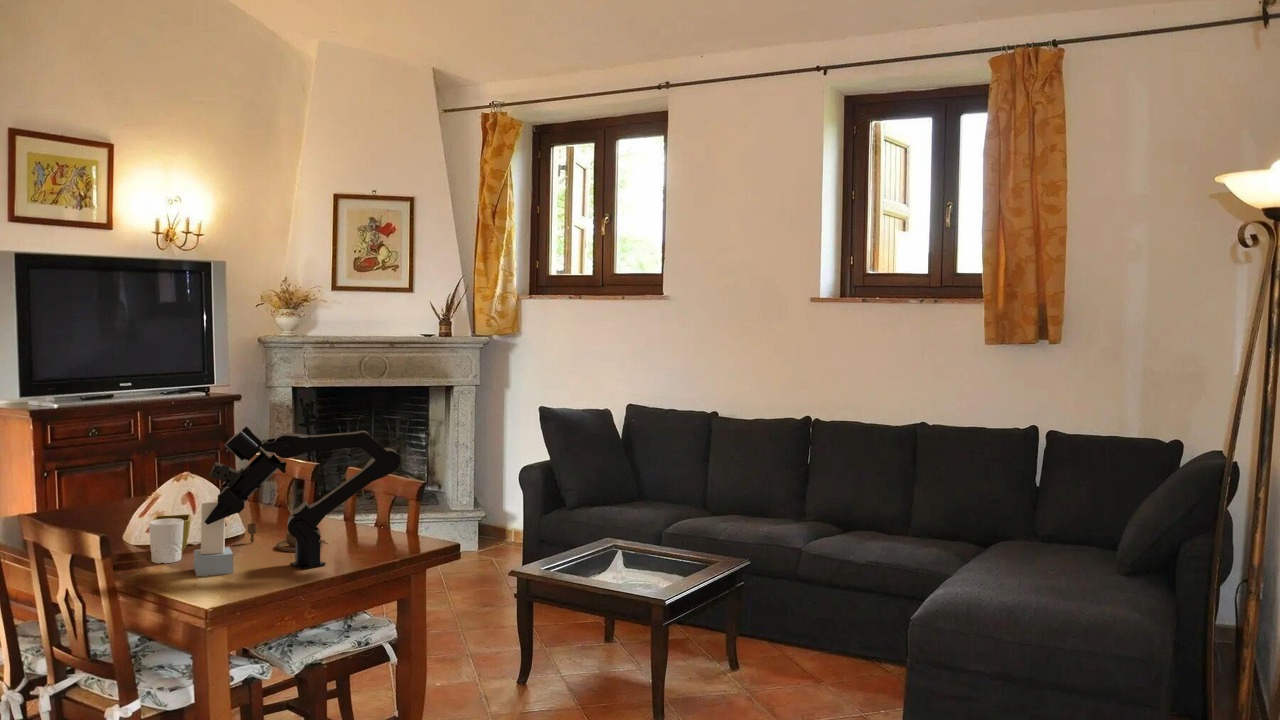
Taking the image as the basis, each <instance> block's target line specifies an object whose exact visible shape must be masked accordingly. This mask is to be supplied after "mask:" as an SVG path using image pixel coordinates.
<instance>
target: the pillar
mask: <svg viewBox="0 0 1280 720" xmlns="http://www.w3.org/2000/svg"><path fill="white" fill-rule="evenodd" d="M217 504H218V501H217V500H204V501H202V504H201V517H200V518H201V522H200V526H201V527H200V529H201V530H200V549H201V554H219V553H223V552H224V549H225V547H226V546H225V542H226V540H225V539H226V517H225V518H223V519H220V520H218V521H216V522H213V523H211V524H208V525H207V524H206V523H205V520H206V519H207V517H208V516H209V515H210V513H211V512H212V511H213V509H214V508H215V507H216V505H217Z"/></svg>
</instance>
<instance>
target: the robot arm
mask: <svg viewBox="0 0 1280 720" xmlns="http://www.w3.org/2000/svg"><path fill="white" fill-rule="evenodd" d="M224 447H225V448H227V449H228V450H229V451H230V452H231V453H232V454H234V455H235V457H237V458H238V459H239V460H240V461H242V462H243V461H244V460H245V461H248V462H249V461H251V460H252V459H253V460H252V461H251V462H249V464H247V466H246V467H241V468H240V469H239V470H237V469H234V468H232V467H230V466H229V465H225V464H224V463H220V462H218V461H215V463H214V465H213V467H212V469H211V471H210V473H209V477H210V478H212V479H217V480H220V481H222V482H223V483H222V484H221V486H220V488H219V494H218V495H217V500H216V501H218V504H217V505H216V507H215V508H214V509H213V511H212V512H211V513H210V515H209V516H208V517H207V519H206V520H205V523H206V524H207V525H208V524H211V523H213V522H216V521H218V520H220V519H223V518H225V519H226V518H227V517H230V516H233V515H234V514H235V515H236V514H240V513H241V512H242V511H243V510H244V509H245V507H246V505H245V504H246V502H247V501H248V499H249V498H250V496H251V495H252V494H254V493H255V492H256V491H257V490H259V489H260V488H261V487H262V485H263V484H264V483H265V482H266V481H267V480H269V478H270V477H272V475H273V474H275V472H276V471H277V470H279V471H280V472H281V473H282V474H286V473H287V470H286V468H287V464H288V463H287V461H286V460H284V461H283V460H281V459H290V458H294V457H299V456H302V455H306V454H307V453H312V452H318V451H319V452H320V451H329V450H340V449H341V450H343V449H355V448H361V449H362V450H363V451H365V452H366V453H367V454H368V455H369V456H370V457H371V459H369V461H367V463H366V464H365V465H364V467H363V468H362V469H360V470H359V471H358V472H356V473H355V474H354V475H352V476H351V477H350V478H348V479H347V480H346V481H344V482H342V483H341V484H340V485H338V486H337V487H336V488H334V489H333V490H331V491H329V493H327V494H326V495H324V496H323V497H322V498H320V499H319V500H317V501H315V502H313V503H311V504H308V502H307V501H306V500H305V501H303V502H302V503H301V504H300V505H299V506H298V507H297V508H296V507H295V508H294V509H291V514H290V515H289V516H288V519H287V530H288V531H289V533H290V534H291V535H292V536H293V537H296V539H297V540H296V546H295V552H294V553H295V554H294V562H293V561H292V562H290V563H289V566H292V567H295V568H297V569H301V570H306V569H312V568H317V567H322V566H325V565H327V562H324V561H321V548H320V539H321V537H322V536H321V530H320V528H319V527H318V525H319V524H320V523H321V522H322V521H323V519H324V518H325V517H326V516H327V515H328V514H330V513H331V512H333V511H334V510H335V509H337V508H338V507H339V506H341V505H342V504H344V503H345V502H346V501H348V500H349V499H350V498H352V497H353V496H354V495H356V494H357V493H358V492H360V491H361V490H363V489H364V488H365V487H367V486H368V485H370V484H371V483H372V482H375V481H377V480H380V479H382V478H383V479H384V478H385V477H387V476H389V475H391V474H392V473H394V472H395V473H396V472H397V470H399V468H400V466H401V457H400V455H399V454H398V452H397V451H396V450H395V449H393V448H392V447H385V446H383V445H382V444H381V443H380V442H379V441H378V440H376V439H375V438H373V437H372V436H371V435H370V433H368V432H367V431H366V430H358V431H352V432H339V433H326V434H324V433H323V434H315V435H312V434H310V435H309V434H303V433H302V434H301V433H294V432H293V433H292V432H281V433H279V434H278V435H277V436H276V437H274V438H269V439H267V438H266V439H260V438H259V437H258V436H257V435H256V434H255V433H254V432H253V431H252V429H251V428H250V427H248V426H245V427H244V428H243V429H241V430H240V431H239V432H237V433H235V434H234V435H233V436H232V437H230V439H229V440H227V442H226V443H225V444H224ZM259 452H260V453H259ZM267 452H268V453H272V454H271V455H269V454H268V453H267ZM258 453H259V454H258ZM257 454H258V455H257ZM255 456H256V457H255ZM254 457H255V458H254ZM278 457H279V458H278ZM280 458H281V459H280Z"/></svg>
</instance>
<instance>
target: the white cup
mask: <svg viewBox="0 0 1280 720" xmlns="http://www.w3.org/2000/svg"><path fill="white" fill-rule="evenodd" d="M148 525H149V526H148V527H149V544H150V552H151V553H150V554H151V555H150V558H151V562H152V563H153V562H154V564H161V563H164V564H170V563H171V564H173V563H176V562H179V561H181V559H182V553H183V552H182V551H181V550H182V541H183V526H184V520H182V519H176V518H167V519H158V520H151V521H149V524H148Z"/></svg>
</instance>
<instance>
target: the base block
mask: <svg viewBox="0 0 1280 720" xmlns="http://www.w3.org/2000/svg"><path fill="white" fill-rule="evenodd" d="M193 570H194V572H195V575H196V577H197V578H199V576H201V577H209V576H208V575H211V576H220V575H221V574H222V575H230V574H232V575H233V574H234V553H233V551H232V549H231V548H230V546H225V549H224V552H223V553H219V554H201V548H198V549H194V550H193Z"/></svg>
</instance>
